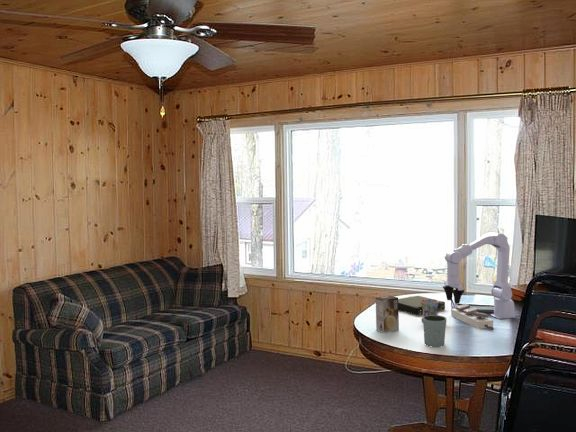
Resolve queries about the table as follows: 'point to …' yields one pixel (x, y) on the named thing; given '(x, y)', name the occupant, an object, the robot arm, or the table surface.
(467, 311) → the rocker
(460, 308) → the rocker
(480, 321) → the power strip
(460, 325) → the table surface
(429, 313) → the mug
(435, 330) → the grey tapered cup
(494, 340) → the table surface
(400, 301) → the network switch
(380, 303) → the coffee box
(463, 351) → the table surface
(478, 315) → the rocker
